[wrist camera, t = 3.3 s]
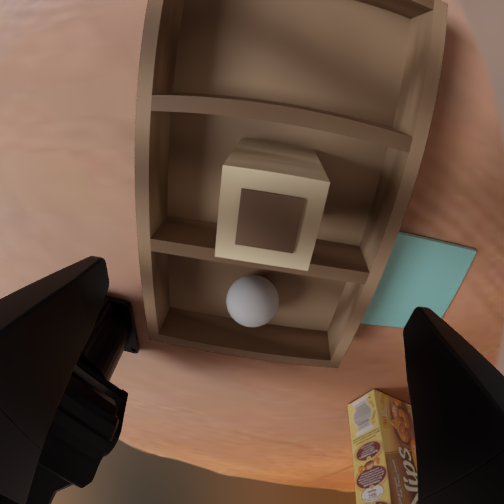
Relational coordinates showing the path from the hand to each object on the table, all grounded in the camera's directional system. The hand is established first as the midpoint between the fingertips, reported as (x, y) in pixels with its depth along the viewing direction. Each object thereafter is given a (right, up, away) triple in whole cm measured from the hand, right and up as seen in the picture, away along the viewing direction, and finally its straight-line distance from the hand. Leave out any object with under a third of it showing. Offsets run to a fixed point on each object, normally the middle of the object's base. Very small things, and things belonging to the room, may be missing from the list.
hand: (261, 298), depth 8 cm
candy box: (+15, -16, +21) cm, 31 cm away
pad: (+12, -1, +12) cm, 17 cm away
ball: (0, -1, +13) cm, 13 cm away
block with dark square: (+1, +5, +9) cm, 11 cm away
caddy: (+1, +6, +9) cm, 11 cm away
